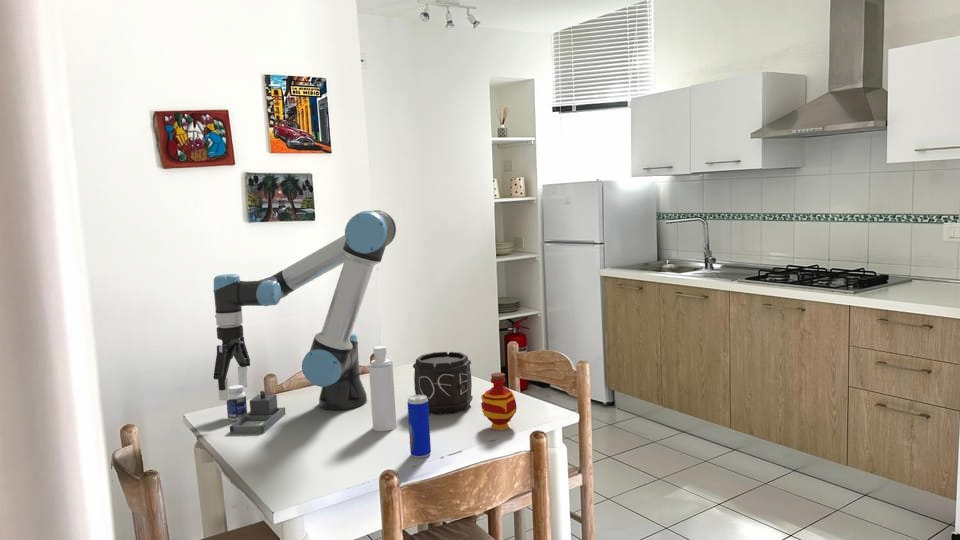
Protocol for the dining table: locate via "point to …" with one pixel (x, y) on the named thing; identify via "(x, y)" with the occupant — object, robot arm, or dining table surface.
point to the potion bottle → (498, 403)
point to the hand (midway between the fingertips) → (234, 393)
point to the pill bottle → (236, 403)
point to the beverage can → (419, 426)
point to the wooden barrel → (444, 381)
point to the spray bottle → (382, 391)
